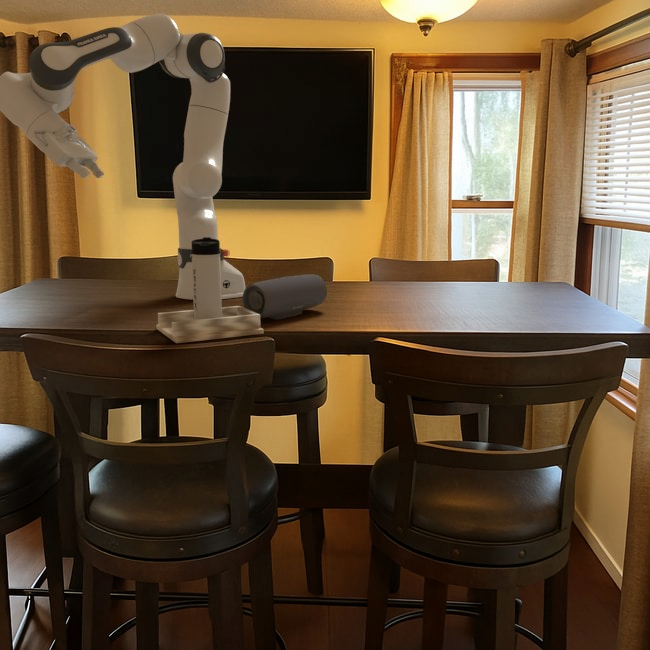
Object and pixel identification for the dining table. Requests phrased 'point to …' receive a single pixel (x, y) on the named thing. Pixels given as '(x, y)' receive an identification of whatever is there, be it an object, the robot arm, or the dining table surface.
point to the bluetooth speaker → (284, 295)
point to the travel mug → (206, 278)
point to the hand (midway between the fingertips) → (94, 176)
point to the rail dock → (209, 325)
